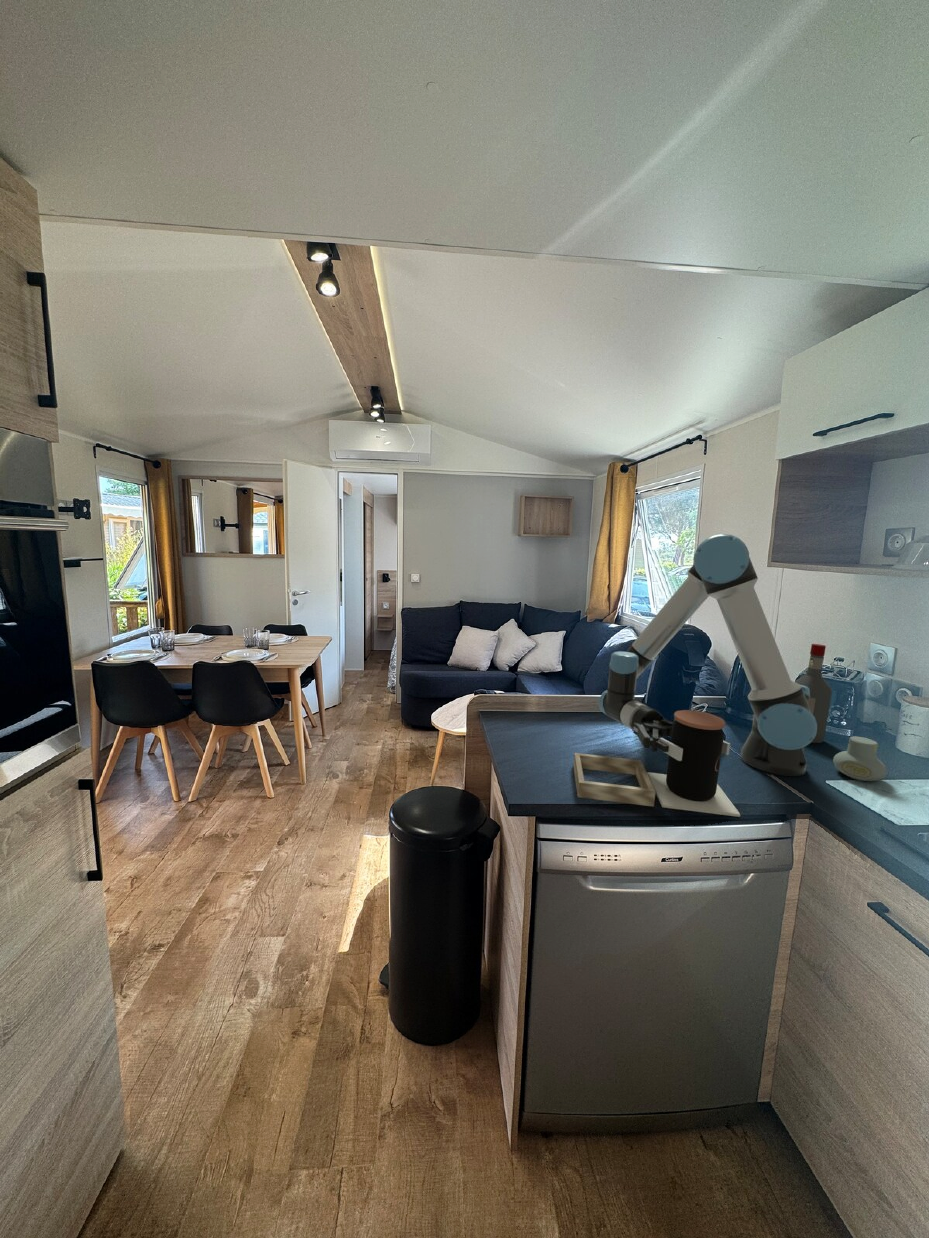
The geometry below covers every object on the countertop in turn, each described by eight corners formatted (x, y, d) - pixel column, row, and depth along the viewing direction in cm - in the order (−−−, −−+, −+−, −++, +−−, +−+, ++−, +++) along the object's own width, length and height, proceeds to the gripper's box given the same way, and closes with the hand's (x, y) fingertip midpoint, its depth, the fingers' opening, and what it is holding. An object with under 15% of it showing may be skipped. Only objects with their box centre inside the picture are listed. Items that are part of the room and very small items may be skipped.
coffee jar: (721, 806, 108) (732, 728, 105) (670, 799, 110) (679, 722, 107) (707, 783, 118) (717, 712, 115) (661, 777, 120) (669, 707, 117)
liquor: (804, 732, 160) (819, 642, 155) (828, 743, 151) (845, 648, 146) (779, 732, 159) (793, 641, 154) (802, 743, 150) (818, 647, 145)
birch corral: (639, 773, 123) (640, 760, 123) (653, 806, 107) (655, 791, 107) (573, 765, 126) (574, 752, 125) (577, 797, 110) (579, 782, 109)
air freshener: (886, 779, 127) (893, 743, 126) (881, 789, 122) (888, 751, 120) (835, 764, 135) (841, 730, 134) (828, 772, 130) (834, 737, 128)
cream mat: (714, 782, 121) (714, 779, 120) (739, 816, 105) (740, 814, 105) (646, 774, 123) (647, 772, 123) (662, 807, 107) (662, 804, 107)
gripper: (678, 729, 134) (744, 762, 114) (600, 736, 126) (658, 773, 106) (681, 702, 133) (749, 731, 113) (603, 708, 125) (662, 740, 105)
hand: (705, 752), depth 110 cm, fingers open, 13 cm apart
